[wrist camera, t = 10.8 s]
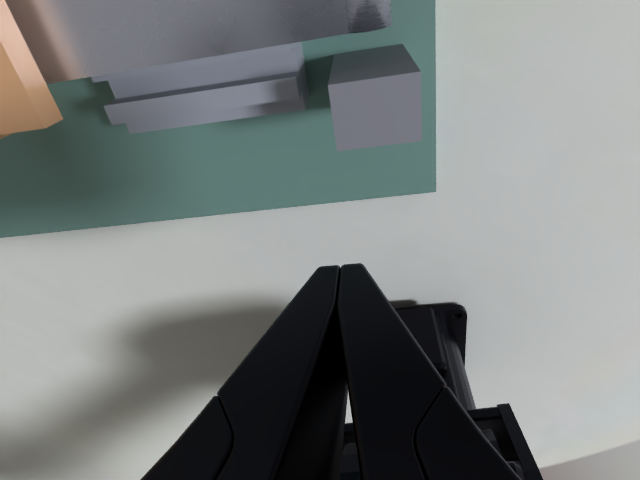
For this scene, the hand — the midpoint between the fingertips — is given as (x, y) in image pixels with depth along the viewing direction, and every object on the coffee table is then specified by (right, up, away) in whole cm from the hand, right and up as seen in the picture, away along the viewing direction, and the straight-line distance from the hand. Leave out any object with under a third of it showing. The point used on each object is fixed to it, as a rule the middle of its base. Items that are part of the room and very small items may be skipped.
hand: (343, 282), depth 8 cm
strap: (-5, +8, +5) cm, 11 cm away
